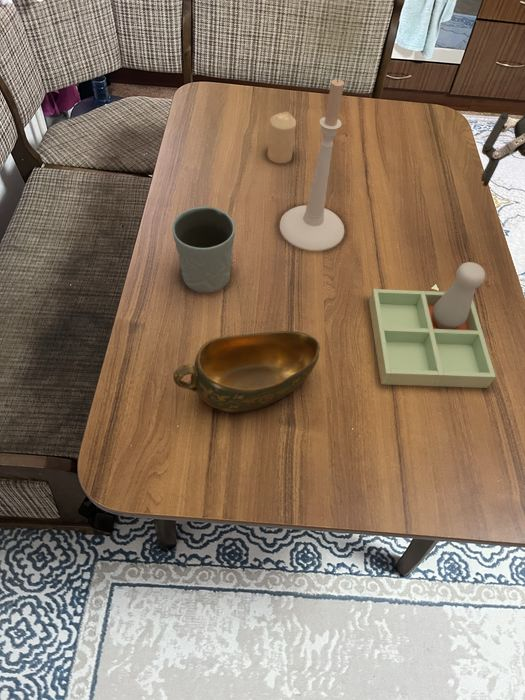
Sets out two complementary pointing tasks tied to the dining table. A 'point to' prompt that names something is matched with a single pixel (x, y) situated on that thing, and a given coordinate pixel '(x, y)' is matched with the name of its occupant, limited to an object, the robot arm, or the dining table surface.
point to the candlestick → (318, 191)
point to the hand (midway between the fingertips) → (511, 195)
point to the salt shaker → (458, 297)
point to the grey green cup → (204, 247)
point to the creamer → (250, 369)
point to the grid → (426, 343)
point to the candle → (281, 137)
